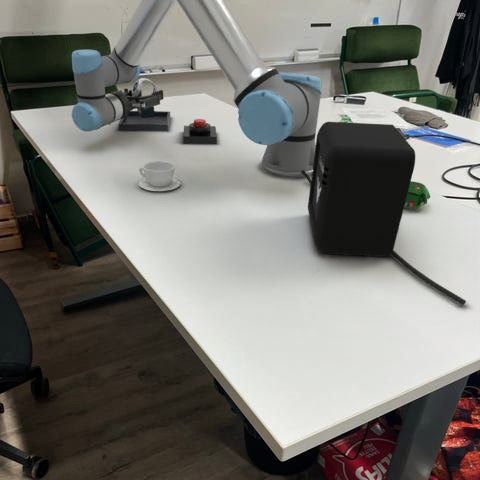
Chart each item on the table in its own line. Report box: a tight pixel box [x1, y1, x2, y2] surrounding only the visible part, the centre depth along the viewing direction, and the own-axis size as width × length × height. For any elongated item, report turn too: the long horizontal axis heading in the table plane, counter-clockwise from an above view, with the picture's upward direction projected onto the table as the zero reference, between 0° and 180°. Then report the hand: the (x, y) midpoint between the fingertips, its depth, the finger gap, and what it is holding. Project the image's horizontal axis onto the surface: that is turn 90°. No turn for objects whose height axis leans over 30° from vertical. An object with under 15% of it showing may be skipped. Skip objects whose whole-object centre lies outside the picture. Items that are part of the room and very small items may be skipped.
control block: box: [182, 122, 218, 145], centre depth 148 cm, size 12×10×4 cm
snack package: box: [404, 180, 431, 210], centre depth 111 cm, size 7×16×5 cm, turn 68°
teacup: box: [138, 160, 181, 192], centre depth 115 cm, size 10×10×5 cm
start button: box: [193, 118, 207, 127], centre depth 146 cm, size 4×4×2 cm
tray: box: [117, 110, 171, 132], centre depth 160 cm, size 18×16×2 cm
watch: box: [131, 77, 158, 118], centre depth 155 cm, size 6×8×11 cm
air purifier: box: [307, 121, 416, 258], centre depth 92 cm, size 20×15×20 cm
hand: (151, 93), depth 159 cm, fingers closed on watch, 7 cm apart
